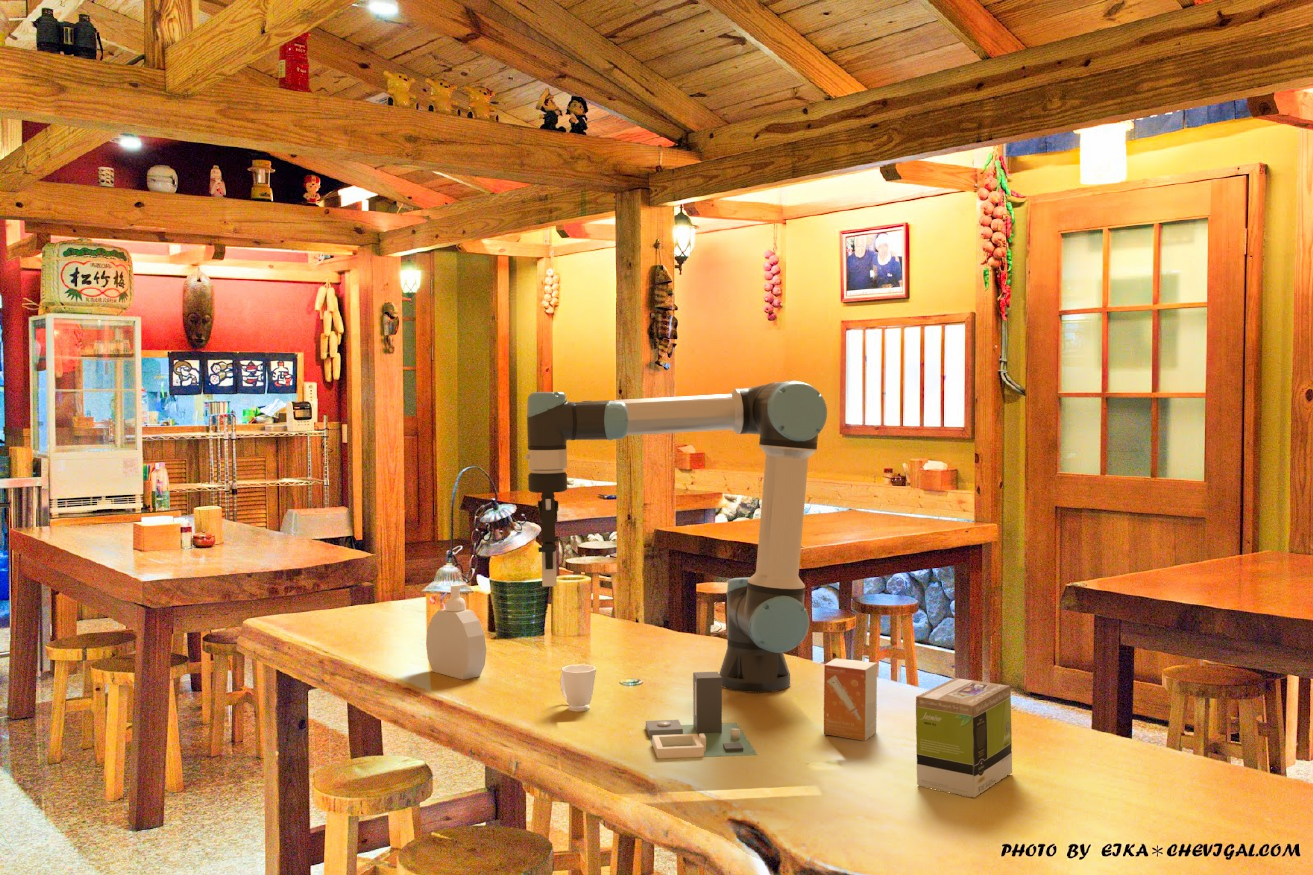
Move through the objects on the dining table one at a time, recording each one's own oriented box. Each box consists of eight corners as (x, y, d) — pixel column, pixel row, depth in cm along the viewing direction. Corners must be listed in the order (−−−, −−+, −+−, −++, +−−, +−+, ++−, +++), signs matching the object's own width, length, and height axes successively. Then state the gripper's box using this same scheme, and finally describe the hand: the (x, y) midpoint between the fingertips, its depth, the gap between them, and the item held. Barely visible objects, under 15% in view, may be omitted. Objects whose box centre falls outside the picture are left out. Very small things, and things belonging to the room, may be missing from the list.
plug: (717, 725, 211) (717, 671, 210) (721, 732, 206) (721, 677, 206) (693, 726, 210) (692, 672, 210) (696, 733, 206) (696, 678, 205)
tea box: (955, 762, 193) (955, 675, 192) (1013, 775, 186) (1014, 684, 186) (914, 786, 181) (914, 693, 181) (974, 800, 175) (975, 704, 174)
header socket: (701, 742, 200) (701, 728, 200) (708, 756, 193) (708, 742, 193) (652, 744, 199) (652, 730, 199) (657, 758, 192) (657, 744, 192)
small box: (823, 735, 209) (823, 664, 208) (835, 726, 214) (835, 657, 214) (865, 741, 205) (866, 669, 204) (877, 732, 210) (877, 662, 210)
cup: (573, 715, 222) (572, 674, 222) (546, 704, 230) (546, 664, 230) (603, 709, 227) (603, 669, 226) (576, 699, 235) (576, 659, 234)
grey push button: (678, 733, 210) (678, 718, 210) (685, 748, 201) (685, 733, 201) (645, 734, 210) (645, 719, 209) (651, 750, 200) (651, 734, 200)
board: (736, 729, 212) (736, 714, 212) (757, 761, 194) (757, 745, 193) (645, 732, 211) (645, 717, 210) (657, 765, 192) (657, 749, 192)
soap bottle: (488, 677, 253) (487, 587, 252) (469, 682, 249) (468, 590, 248) (445, 666, 264) (444, 580, 263) (425, 670, 260) (424, 582, 259)
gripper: (529, 467, 235) (530, 571, 235) (527, 476, 210) (529, 591, 211) (565, 467, 235) (567, 570, 236) (568, 475, 211) (570, 590, 211)
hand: (549, 580), depth 223 cm, fingers open, 13 cm apart
